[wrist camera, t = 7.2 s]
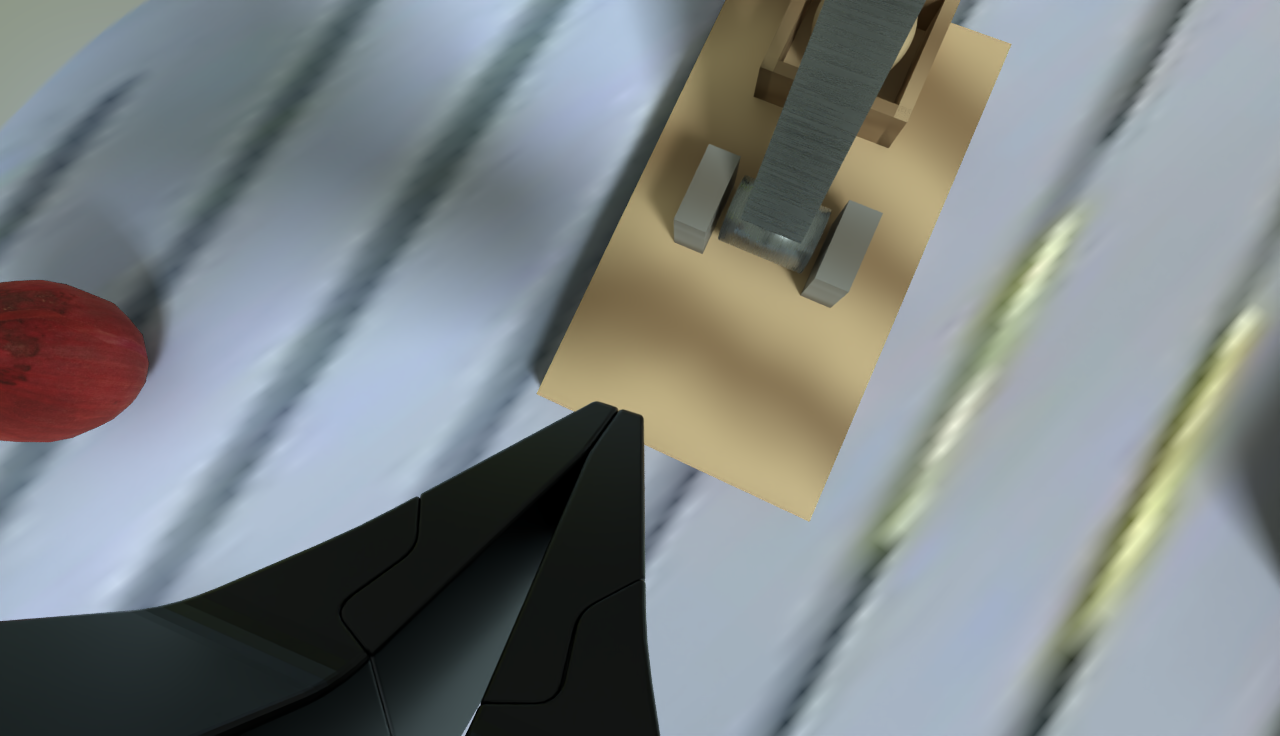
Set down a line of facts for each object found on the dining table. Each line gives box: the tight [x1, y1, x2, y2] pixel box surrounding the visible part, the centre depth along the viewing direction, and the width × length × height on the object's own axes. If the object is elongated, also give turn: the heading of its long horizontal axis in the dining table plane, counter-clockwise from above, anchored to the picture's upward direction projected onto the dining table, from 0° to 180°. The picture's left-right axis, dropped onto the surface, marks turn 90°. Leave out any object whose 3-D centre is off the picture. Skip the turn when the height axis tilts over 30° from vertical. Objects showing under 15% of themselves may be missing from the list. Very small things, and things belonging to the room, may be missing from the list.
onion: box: [0, 280, 149, 442], centre depth 20 cm, size 6×6×8 cm
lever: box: [718, 0, 926, 274], centre depth 17 cm, size 5×3×14 cm
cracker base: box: [537, 0, 1011, 521], centre depth 21 cm, size 20×11×4 cm, turn 155°
